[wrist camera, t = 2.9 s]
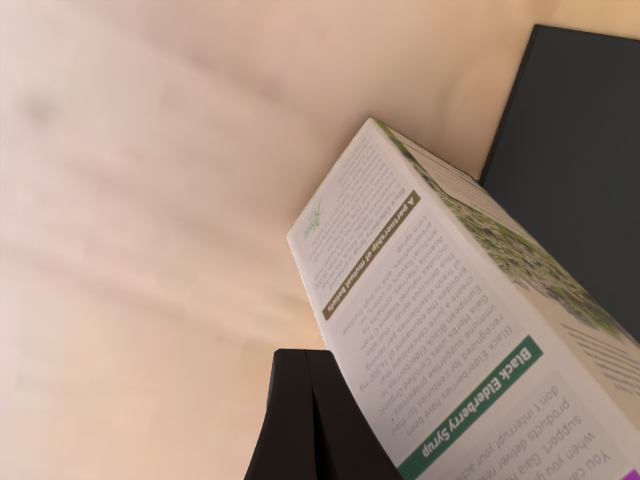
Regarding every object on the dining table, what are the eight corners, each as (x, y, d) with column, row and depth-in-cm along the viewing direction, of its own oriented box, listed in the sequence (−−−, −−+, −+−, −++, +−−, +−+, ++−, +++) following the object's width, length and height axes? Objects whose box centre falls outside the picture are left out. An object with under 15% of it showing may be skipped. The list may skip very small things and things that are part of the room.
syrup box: (279, 236, 20) (436, 731, 9) (370, 105, 18) (736, 543, 7) (390, 281, 23) (617, 701, 12) (480, 173, 21) (870, 561, 9)
